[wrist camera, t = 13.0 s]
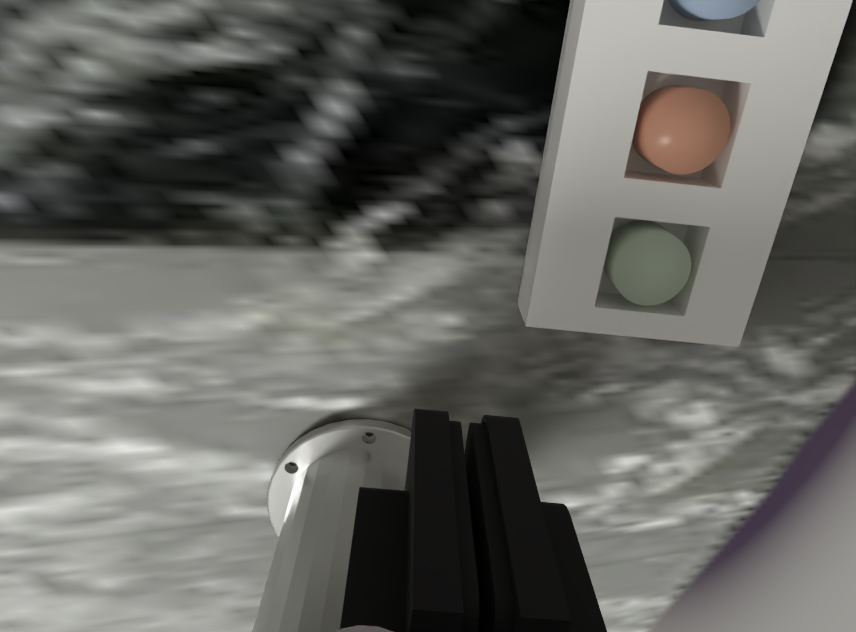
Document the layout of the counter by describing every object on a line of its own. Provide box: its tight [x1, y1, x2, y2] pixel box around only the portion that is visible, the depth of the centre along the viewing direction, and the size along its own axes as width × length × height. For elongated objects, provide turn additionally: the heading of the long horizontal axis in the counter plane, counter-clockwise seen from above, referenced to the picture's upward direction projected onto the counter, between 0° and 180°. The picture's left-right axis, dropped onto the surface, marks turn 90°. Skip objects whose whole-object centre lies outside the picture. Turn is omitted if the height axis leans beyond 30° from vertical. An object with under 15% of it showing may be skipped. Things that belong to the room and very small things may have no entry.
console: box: [517, 0, 853, 347], centre depth 33 cm, size 22×12×3 cm, turn 174°
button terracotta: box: [632, 85, 730, 174], centre depth 32 cm, size 4×4×3 cm
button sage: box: [603, 220, 691, 306], centre depth 35 cm, size 4×4×3 cm
